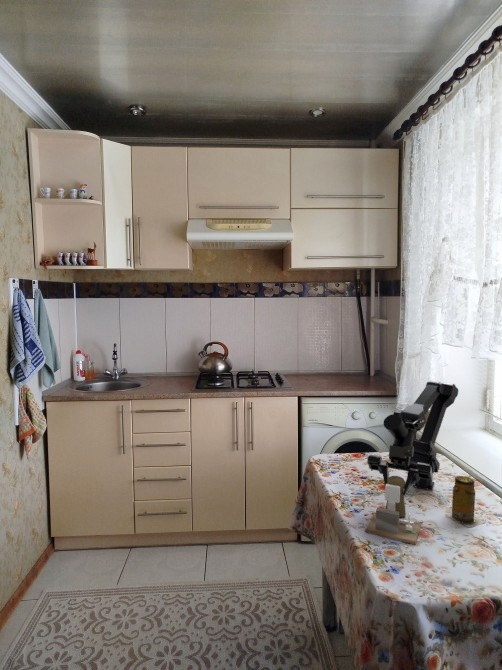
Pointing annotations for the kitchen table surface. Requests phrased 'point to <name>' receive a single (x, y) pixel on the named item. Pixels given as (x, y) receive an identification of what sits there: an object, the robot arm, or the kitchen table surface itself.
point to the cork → (401, 505)
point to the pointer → (409, 525)
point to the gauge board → (393, 536)
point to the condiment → (464, 502)
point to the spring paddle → (394, 499)
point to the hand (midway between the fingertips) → (395, 493)
